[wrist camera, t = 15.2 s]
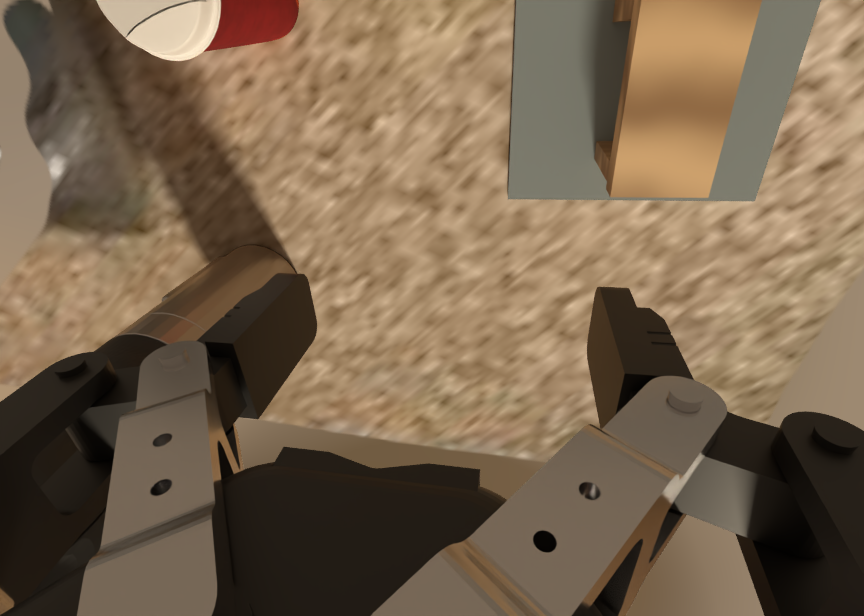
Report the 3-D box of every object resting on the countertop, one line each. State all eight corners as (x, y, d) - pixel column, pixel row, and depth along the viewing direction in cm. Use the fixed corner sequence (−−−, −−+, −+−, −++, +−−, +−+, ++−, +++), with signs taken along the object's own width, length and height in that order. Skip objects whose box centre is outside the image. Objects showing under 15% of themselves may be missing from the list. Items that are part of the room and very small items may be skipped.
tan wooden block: (616, -10, 31) (645, -26, 24) (710, -17, 30) (771, -35, 23) (593, 165, 37) (610, 197, 30) (670, 164, 36) (708, 197, 29)
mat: (508, 197, 41) (507, 198, 40) (518, -55, 31) (518, -56, 31) (751, 198, 37) (754, 201, 37) (843, -84, 28) (849, -86, 27)
